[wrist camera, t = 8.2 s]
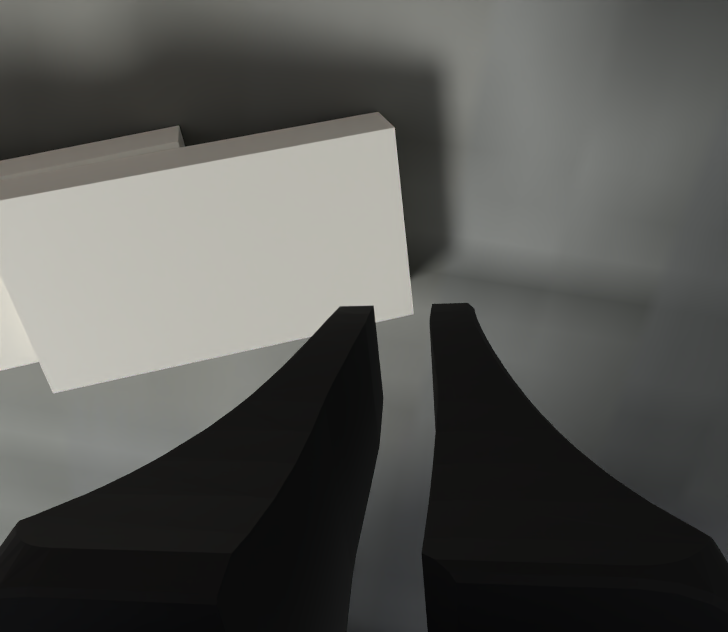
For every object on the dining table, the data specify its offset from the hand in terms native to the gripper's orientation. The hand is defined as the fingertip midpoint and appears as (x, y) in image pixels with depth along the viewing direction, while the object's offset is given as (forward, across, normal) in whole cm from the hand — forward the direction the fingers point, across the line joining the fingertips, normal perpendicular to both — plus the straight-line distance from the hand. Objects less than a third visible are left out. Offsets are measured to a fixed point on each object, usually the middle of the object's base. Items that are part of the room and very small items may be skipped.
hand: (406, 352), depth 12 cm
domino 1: (+6, +1, 0) cm, 6 cm away
